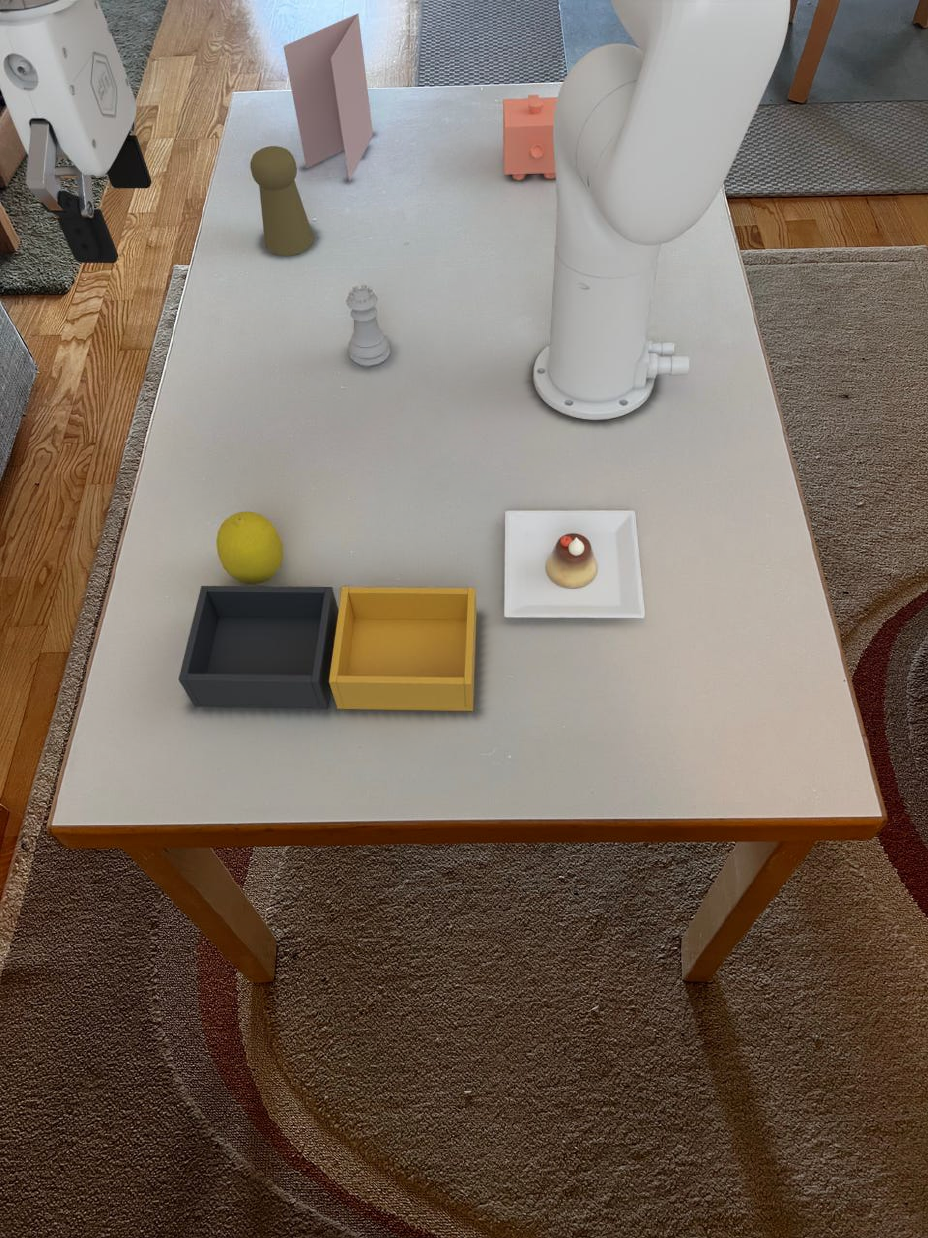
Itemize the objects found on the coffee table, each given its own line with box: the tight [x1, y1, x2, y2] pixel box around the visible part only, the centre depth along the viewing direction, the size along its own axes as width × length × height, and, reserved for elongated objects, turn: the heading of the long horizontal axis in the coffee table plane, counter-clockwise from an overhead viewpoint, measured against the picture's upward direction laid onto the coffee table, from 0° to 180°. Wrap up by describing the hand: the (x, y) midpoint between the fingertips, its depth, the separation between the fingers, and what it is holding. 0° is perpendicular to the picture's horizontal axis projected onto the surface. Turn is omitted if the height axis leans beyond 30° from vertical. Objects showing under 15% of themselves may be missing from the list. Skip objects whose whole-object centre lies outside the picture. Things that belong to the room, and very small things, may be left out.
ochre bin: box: [329, 586, 477, 712], centre depth 75 cm, size 11×9×4 cm
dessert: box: [503, 509, 646, 619], centre depth 80 cm, size 12×12×5 cm
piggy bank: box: [502, 94, 558, 181], centre depth 115 cm, size 8×12×8 cm, turn 0°
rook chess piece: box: [345, 284, 391, 368], centre depth 96 cm, size 4×4×8 cm
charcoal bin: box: [178, 585, 339, 710], centre depth 76 cm, size 11×9×4 cm
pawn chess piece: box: [249, 145, 315, 257], centre depth 107 cm, size 6×6×11 cm
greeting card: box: [283, 13, 374, 182], centre depth 115 cm, size 11×7×15 cm, turn 133°
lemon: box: [216, 511, 284, 585], centre depth 80 cm, size 6×6×8 cm
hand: (115, 221), depth 70 cm, fingers open, 9 cm apart
